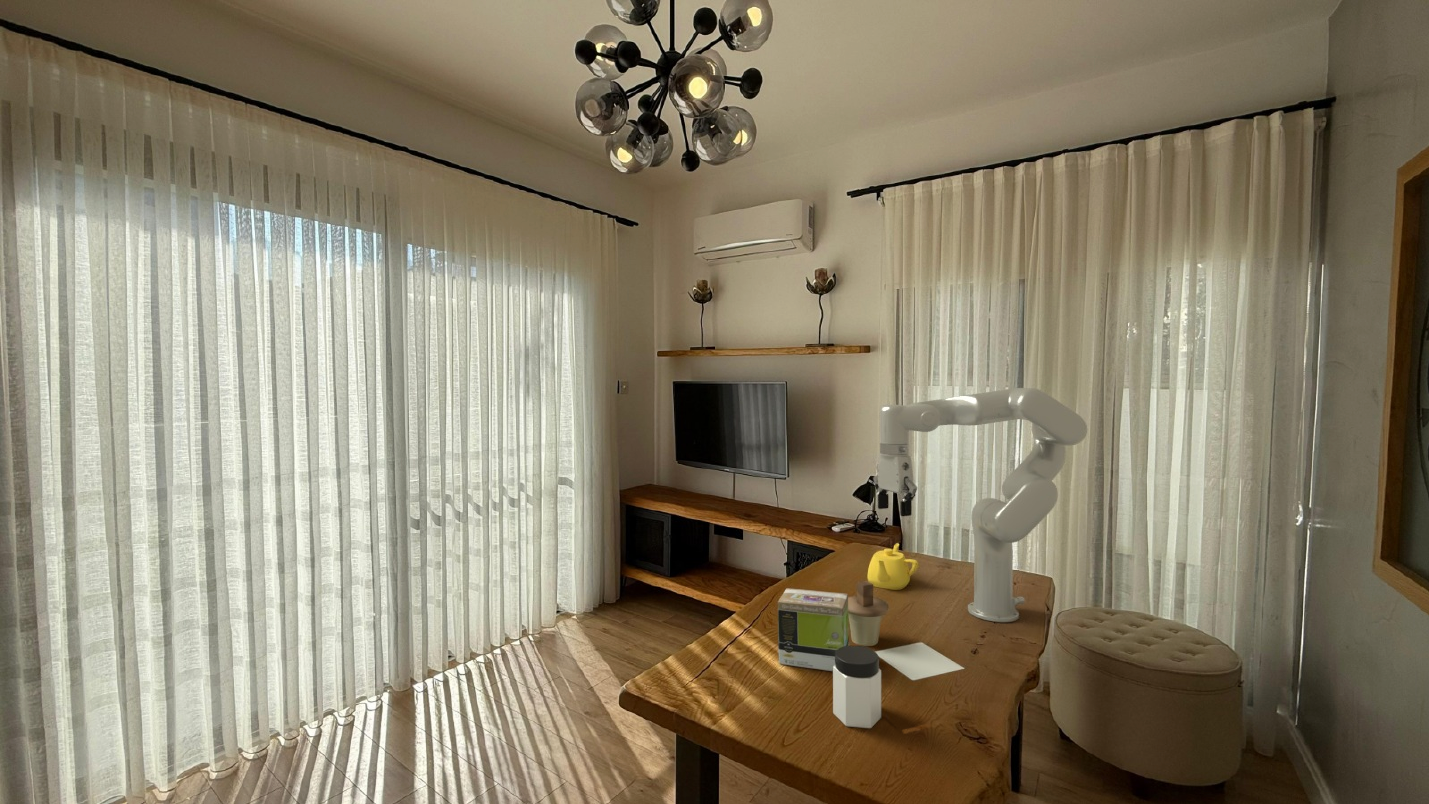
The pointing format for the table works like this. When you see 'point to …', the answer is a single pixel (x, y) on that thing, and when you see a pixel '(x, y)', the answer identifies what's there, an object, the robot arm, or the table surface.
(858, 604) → the lid
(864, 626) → the flower pot
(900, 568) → the teapot
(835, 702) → the jar
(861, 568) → the table surface
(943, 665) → the mat
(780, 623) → the tea box
